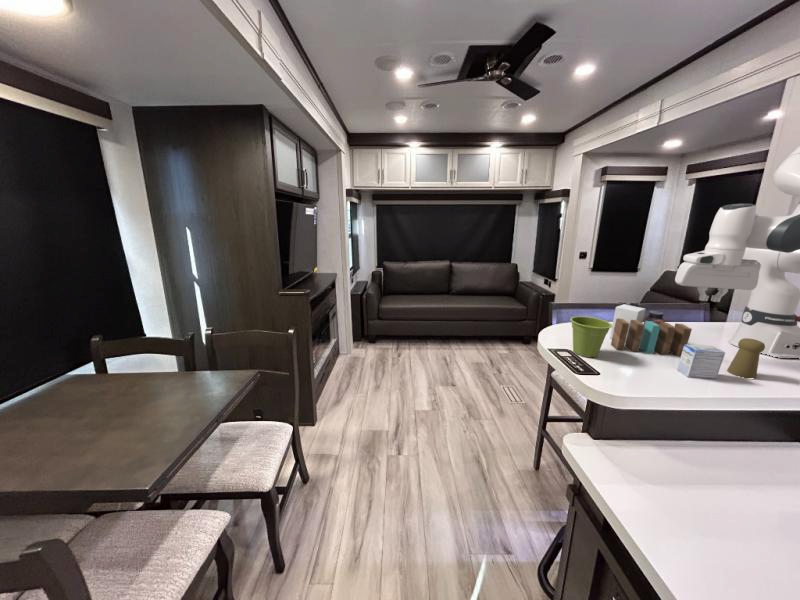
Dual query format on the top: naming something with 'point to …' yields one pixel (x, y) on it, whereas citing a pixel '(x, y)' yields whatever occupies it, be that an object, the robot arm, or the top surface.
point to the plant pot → (588, 335)
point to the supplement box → (627, 315)
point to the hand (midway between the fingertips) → (708, 301)
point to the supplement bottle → (655, 317)
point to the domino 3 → (649, 337)
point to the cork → (746, 358)
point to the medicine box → (700, 361)
